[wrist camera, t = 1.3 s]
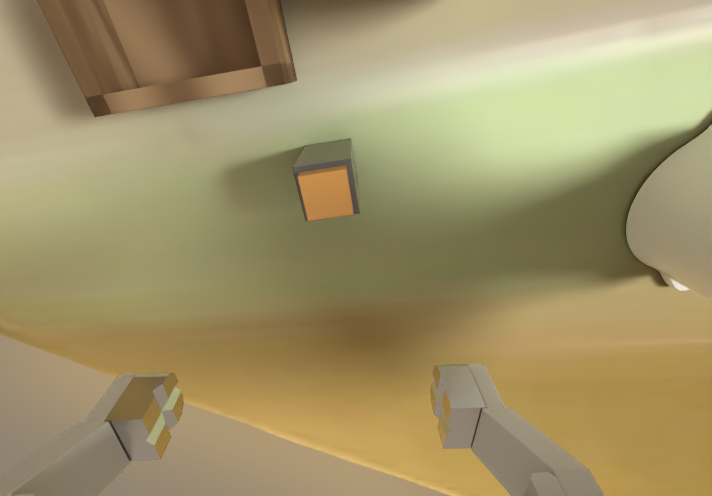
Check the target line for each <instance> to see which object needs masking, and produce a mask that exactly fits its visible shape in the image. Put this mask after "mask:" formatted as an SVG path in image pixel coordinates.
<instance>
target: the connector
mask: <svg viewBox="0 0 712 496" xmlns="http://www.w3.org/2000/svg"><path fill="white" fill-rule="evenodd" d="M292 168H293V172H294V176H295V180H296V184H297V188H298V192H299V196H300V200H301V204H302V209H303V213H304V217H305V221H311V220H318V219H325V218H332V217H339V216H346V215H352V214H358V213H360V210H359V191H358V180H357V173H356V167H355V160H354V154H353V147H352V141H351V138H350V139H344V140H338V141H332V142H326V143H319V144H313V145H307V146H305V147H304V149H303V150H302V152H301V154H300V155H299V157H298V159H297V161H296V162H295V164H294V166H293V167H292Z"/></svg>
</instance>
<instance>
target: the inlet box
mask: <svg viewBox="0 0 712 496" xmlns="http://www.w3.org/2000/svg"><path fill="white" fill-rule="evenodd" d="M37 1H38V3H39V5H40V7H41V9H42V11H43V13H44V15H45V17H46V19H47V21H48V23H49V25H50V27H51V29H52V31H53V33H54V35H55V37H56V39H57V41H58V43H59V45H60V47H61V49H62V51H63V53H64V56H65V58H66V60H67V62H68V64H69V66H70V68H71V70H72V72H73V74H74V76H75V78H76V80H77V82H78V84H79V86H80V88H81V90H82V92H83V94H84V96H85V98H86V100H87V102H88V104H89V106H90V108H91V110H92V112H93V114H94V116H95V117H98V116H103V115H109V114H115V113H121V112H127V111H132V110H138V109H144V108H150V107H156V106H161V105H167V104H173V103H179V102H184V101H190V100H196V99H202V98H208V97H213V96H219V95H225V94H231V93H237V92H242V91H248V90H254V89H260V88H265V87H271V86H277V85H283V84H287V83H291V82H294V81H297V78H296V73H295V68H294V64H293V59H292V54H291V50H290V45H289V40H288V35H287V31H286V26H285V21H284V17H283V12H282V7H281V2H280V0H37Z"/></svg>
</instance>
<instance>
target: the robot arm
mask: <svg viewBox="0 0 712 496" xmlns="http://www.w3.org/2000/svg"><path fill="white" fill-rule="evenodd" d="M626 236H627V241H628V245H629V247H630V249H631V251H632V253H633V254H634V255H635V256H636V257H637V258H638V259H639V260H640V261H641V262H643V263H645V264H646V265H648V266H651V267H653V268H655V269H656V270H658V271H659V272H660V274H661V276H662V277H663V279H664V281H665V282H666V283H667V284H668V285H669V286H671V287H673V288H675V289H676V290H679V291H684V290H689V289H691V290H692V291H694V292H696V293H698V294H700V295H701V296H703V297H705V298H707V299H709V300H711V301H712V124H711V125H710V126H709V127H708V128H707V130H705V131H704V132H703V133H702V134H700V135H699V136H698V137H696V138H695V139H693V140H692V141H690V142H689V143H687V144H686V145H684V146H683V147H681V148H680V149H678V150H677V151H676V152H674V153H673V154H672V155H671V156H669V157H668V158H667V159H666V160H665V161H664V162H663V163H662V164H661V165H659V166H658V167H657V168H656V170H655V171H654V172H653V173H652V174H651V175H650V176H649V178H648V179H647V180H646V181H645V183H644V184H643V186H642V187H641V189H640V190H639V192H638V193H637V195H636V197H635V199H634V201H633V203H632V205H631V208H630V211H629V214H628V218H627V224H626ZM433 376H434V379H435V380H434V381H433V382H432V383H431V390H430V392H431V403H432V408H433V412H434V415H435V416H436V417H437V418H439V422H438V431H439V435H440V438H441V442H442V445H443V449H461V448H472V449H471V450H472V451H473V452H474V454H475V455H476V456H477V457H478V458H479V459H480V460H481V462H482V463H483V464H484V465H485V466H486V467H487V468H488V470H489V471H490V472H491V473H492V474H493V475H494V476H495V478H496V479H497V480H498V481H499V482H500V483H501V484H502V486H503V487H504V488H505V489H506V490H507V491H508V492H509V494H510V495H511V496H605V495H604V493H603V491H602V490H601V488H600V487H599V485H598V483H597V482H596V480H595V478H594V477H593V475H592V474H591V472H590V470H589V469H588V468H586V467H585V466H584V465H583V464H581V463H580V462H579V461H578V460H576V459H575V458H574V457H572V456H571V455H570V454H569V453H567V452H566V451H565V450H564V449H562V448H561V447H560V446H559V445H557V444H556V443H555V442H553V441H552V440H551V439H550V438H548V437H547V436H546V435H545V434H543V433H542V432H541V431H539V430H538V429H537V428H536V427H534V426H533V425H532V424H531V423H529V422H528V421H527V420H525V419H524V418H523V417H522V416H520V415H519V414H518V413H517V412H515V411H514V410H513V409H512V408H505V406H504V404H503V402H502V399H501V397H500V395H499V393H498V391H497V389H496V387H495V385H494V383H493V381H492V379H491V377H490V375H489V373H488V371H487V369H486V367H485V365H484V364H483V363H469V364H465V363H464V364H441V365H435V366H434V369H433ZM177 382H178V381H177V378H176V376H175V374H173V373H136V374H121V375H120V376H118V377H117V378H116V379H115V380H114V382H113V383H112V385H111V386H110V387H109V388H108V390H107V391H106V392H105V394H104V395H103V397H102V398H101V399H100V401H99V402H98V403H97V405H96V406H95V407H94V409H93V410H92V411H91V413H90V414H89V416H88V417H87V419H86V420H85V421H84V422H79V423H77V424H76V425H74V426H72V427H71V428H69V429H68V430H67V431H65V432H63V433H62V434H61V435H59V436H57V437H56V438H55V439H53V440H52V441H50V442H49V443H47V444H46V445H44V446H43V447H41V448H40V449H38V450H37V451H35V452H34V453H32V454H31V455H29V456H28V457H26V458H25V459H23V460H22V461H21V462H19V463H17V464H16V465H15V466H13V467H12V468H10V469H9V470H7V471H6V472H4V473H3V474H1V475H0V496H98V495H99V494H100V493H101V492H102V491H103V490H104V489H105V488H106V487H107V486H108V485H109V484H110V483H111V482H112V481H113V480H114V479H115V478H116V477H117V476H118V475H119V474H120V473H121V472H122V471H123V470H124V469H125V468H126V467H127V466H128V465H129V464H130V461H146V460H161V458H162V455H163V453H164V451H165V449H166V447H167V445H168V443H169V441H170V438H171V435H170V432H169V430H170V429H171V428H172V427H174V426H175V425H176V424H177V423H178V421H179V419H180V417H181V414H182V409H183V403H184V402H183V395H182V392H181V391H180V390H179V389H178V388H176V387H175V385H176V384H177Z"/></svg>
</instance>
